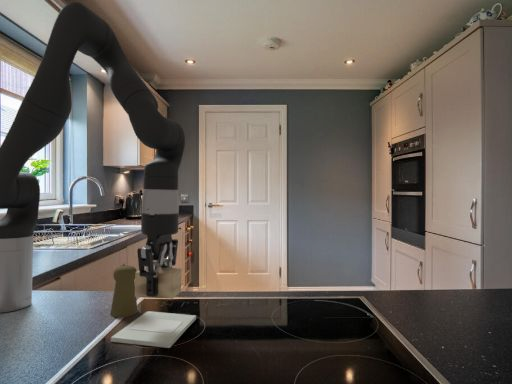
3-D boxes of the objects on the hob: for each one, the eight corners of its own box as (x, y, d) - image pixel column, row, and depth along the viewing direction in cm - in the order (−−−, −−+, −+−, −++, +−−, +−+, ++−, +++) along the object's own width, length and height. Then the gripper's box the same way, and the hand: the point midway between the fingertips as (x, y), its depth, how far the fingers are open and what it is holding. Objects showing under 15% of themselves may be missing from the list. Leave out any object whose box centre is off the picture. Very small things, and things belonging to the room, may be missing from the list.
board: (110, 341, 61) (110, 336, 61) (147, 314, 74) (147, 310, 74) (169, 348, 59) (169, 343, 59) (196, 319, 72) (196, 315, 72)
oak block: (134, 296, 64) (135, 272, 65) (145, 289, 69) (146, 266, 69) (172, 298, 64) (173, 273, 64) (181, 291, 69) (181, 268, 69)
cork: (127, 318, 72) (129, 270, 72) (104, 315, 73) (105, 268, 73) (142, 309, 78) (143, 264, 78) (120, 306, 79) (122, 262, 79)
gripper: (159, 209, 74) (158, 281, 74) (124, 212, 60) (122, 301, 60) (189, 210, 73) (188, 283, 73) (161, 213, 59) (159, 304, 59)
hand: (158, 291), depth 67 cm, fingers closed on oak block, 5 cm apart
